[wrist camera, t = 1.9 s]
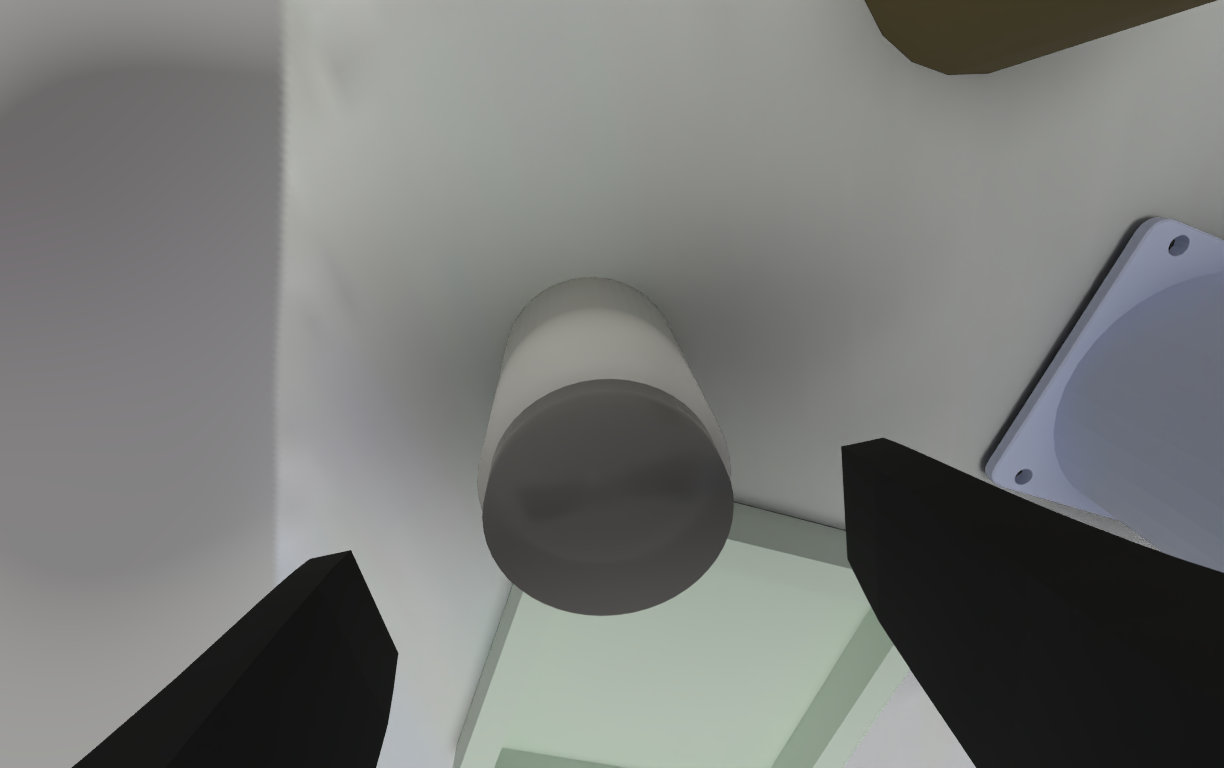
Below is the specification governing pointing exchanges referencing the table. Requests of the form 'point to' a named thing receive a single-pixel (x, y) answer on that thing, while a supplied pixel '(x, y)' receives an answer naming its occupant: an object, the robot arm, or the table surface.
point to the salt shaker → (601, 456)
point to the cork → (1006, 28)
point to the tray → (695, 667)
